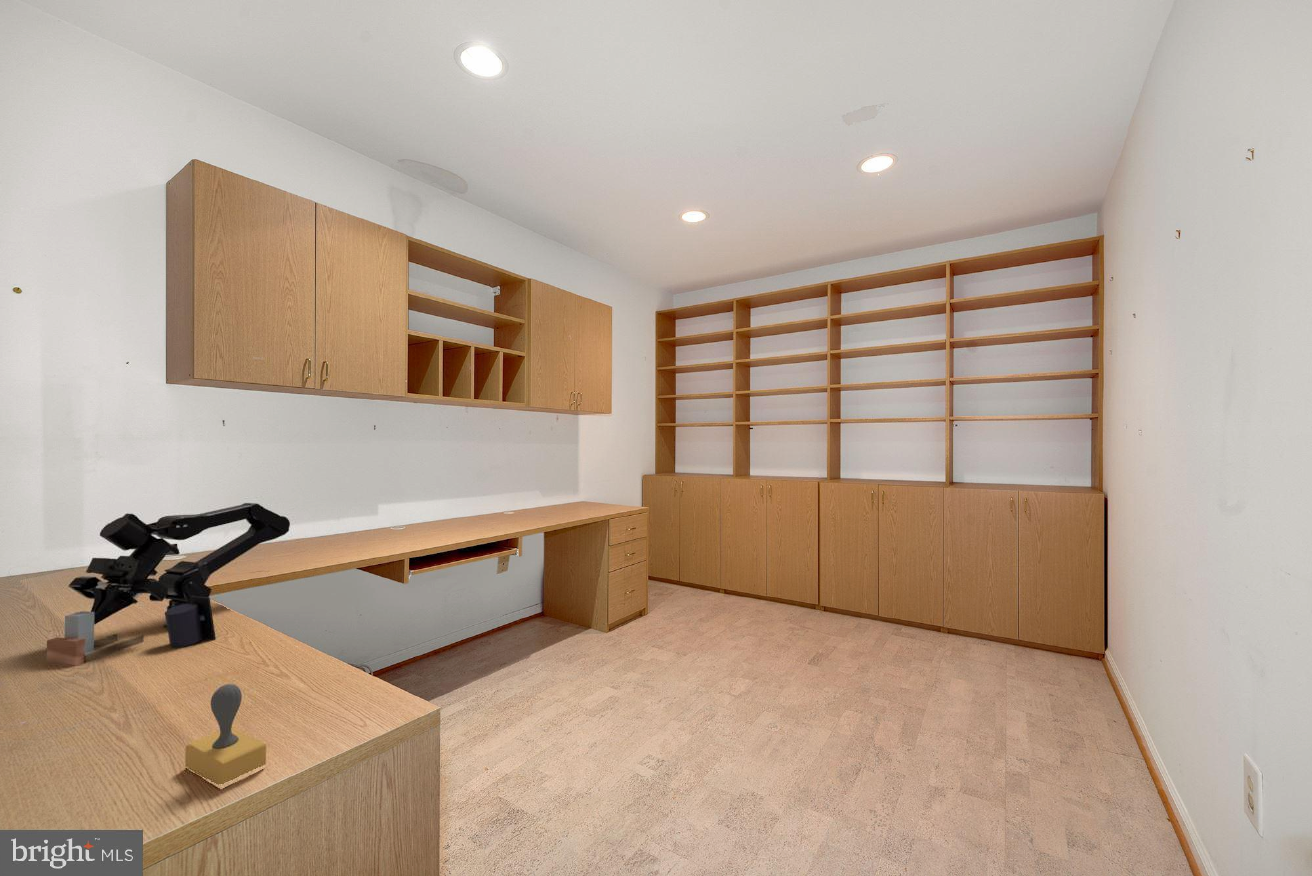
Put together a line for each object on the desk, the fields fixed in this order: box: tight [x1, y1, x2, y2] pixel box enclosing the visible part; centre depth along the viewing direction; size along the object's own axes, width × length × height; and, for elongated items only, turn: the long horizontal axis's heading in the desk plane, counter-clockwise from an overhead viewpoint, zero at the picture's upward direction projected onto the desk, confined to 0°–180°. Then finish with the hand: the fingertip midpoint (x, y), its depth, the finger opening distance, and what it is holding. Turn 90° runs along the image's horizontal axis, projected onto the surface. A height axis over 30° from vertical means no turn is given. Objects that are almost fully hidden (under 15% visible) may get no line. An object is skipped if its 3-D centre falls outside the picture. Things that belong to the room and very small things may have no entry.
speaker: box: [164, 596, 217, 649], centre depth 122 cm, size 8×6×10 cm
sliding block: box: [64, 611, 97, 654], centre depth 112 cm, size 3×5×9 cm, turn 87°
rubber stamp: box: [184, 683, 267, 785], centre depth 76 cm, size 10×6×12 cm, turn 62°
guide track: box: [46, 633, 145, 667], centre depth 116 cm, size 13×7×5 cm, turn 177°
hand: (89, 624), depth 114 cm, fingers closed
